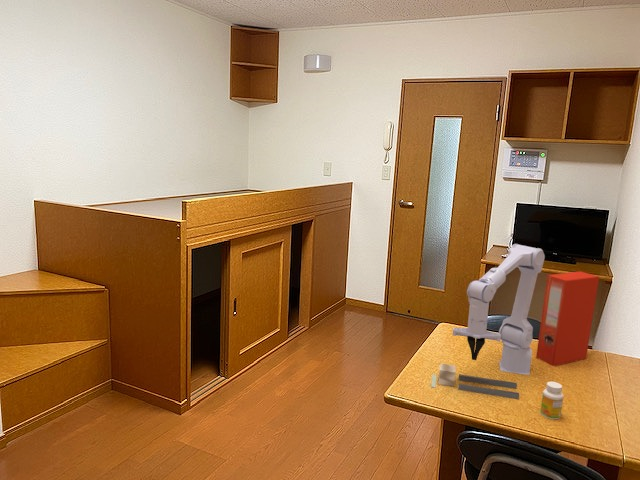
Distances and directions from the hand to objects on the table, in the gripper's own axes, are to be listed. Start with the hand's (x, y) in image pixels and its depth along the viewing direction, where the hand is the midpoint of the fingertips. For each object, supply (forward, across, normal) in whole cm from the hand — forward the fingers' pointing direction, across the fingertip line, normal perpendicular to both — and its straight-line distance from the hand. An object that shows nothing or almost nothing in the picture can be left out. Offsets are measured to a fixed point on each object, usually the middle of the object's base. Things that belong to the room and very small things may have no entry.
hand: (473, 358), depth 157 cm
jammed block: (+9, -8, -1) cm, 12 cm away
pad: (+9, -9, -1) cm, 13 cm away
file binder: (+10, +33, +34) cm, 48 cm away
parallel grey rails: (+9, +5, -1) cm, 11 cm away
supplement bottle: (+10, +22, -11) cm, 26 cm away
